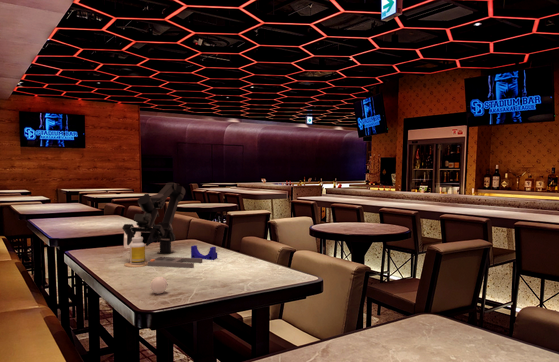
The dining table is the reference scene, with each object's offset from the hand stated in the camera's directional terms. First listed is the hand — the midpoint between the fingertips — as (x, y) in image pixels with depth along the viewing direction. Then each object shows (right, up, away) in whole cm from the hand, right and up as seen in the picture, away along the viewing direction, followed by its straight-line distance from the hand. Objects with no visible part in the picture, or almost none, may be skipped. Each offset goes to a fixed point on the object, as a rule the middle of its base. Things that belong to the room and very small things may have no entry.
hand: (137, 245), depth 179 cm
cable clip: (+27, -9, +15) cm, 33 cm away
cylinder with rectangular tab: (-19, -9, +45) cm, 49 cm away
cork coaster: (0, -9, 0) cm, 9 cm away
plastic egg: (+23, -9, -43) cm, 50 cm away
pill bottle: (0, -8, +1) cm, 9 cm away
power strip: (+17, -9, +2) cm, 19 cm away
